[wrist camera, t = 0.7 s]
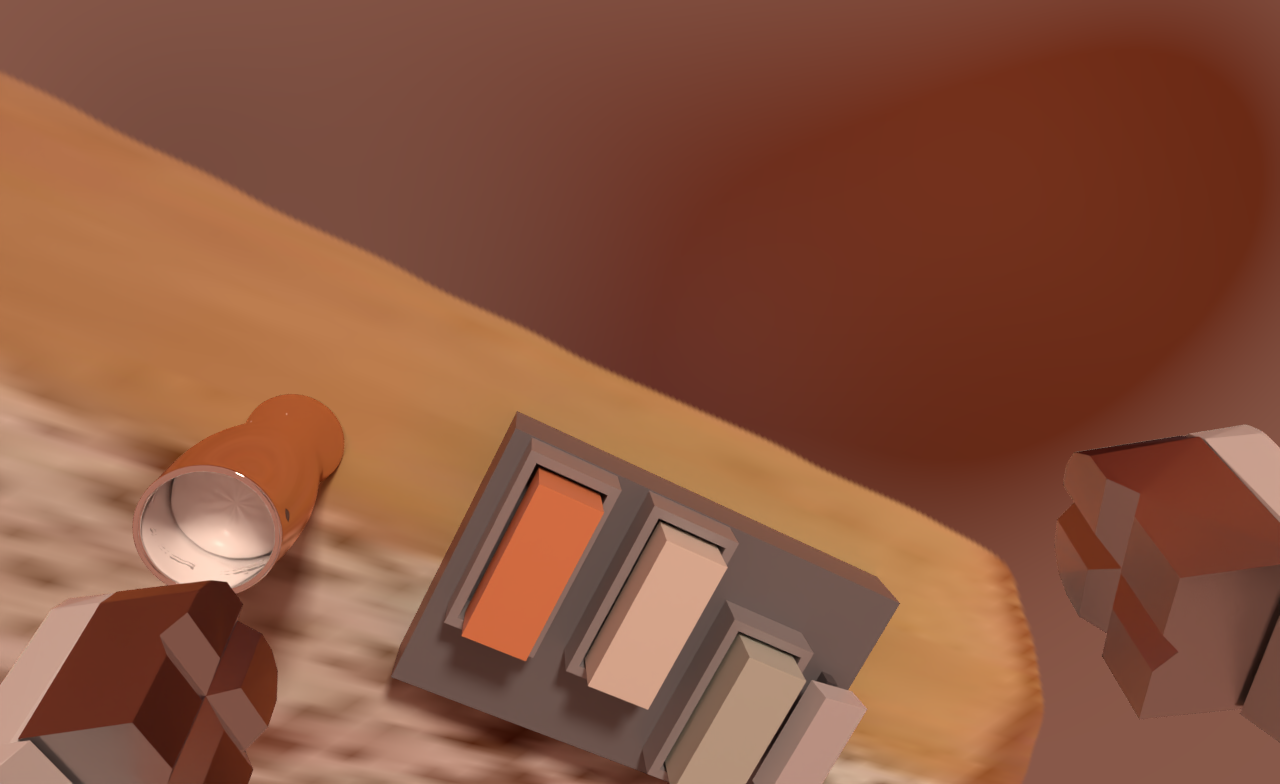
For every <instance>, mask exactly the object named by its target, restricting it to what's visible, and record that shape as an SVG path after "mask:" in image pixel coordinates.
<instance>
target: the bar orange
mask: <svg viewBox="0 0 1280 784" xmlns="http://www.w3.org/2000/svg"><path fill="white" fill-rule="evenodd" d="M603 514H604V510H603V505H602V500H601V495H600V494H599V493H596V492H594V491H592V490H590V489H587V488H585V487H583V486H581V485H579V484H576V483H574V482H572V481H570V480H567V479H565V478H563V477H561V476H559V475H556V474H554V473H552V472H550V471H547V470H545V469H543V468H541V467H539V468H538V470H537V472H536V473H535V475H534V477H533V479H532V481H531V483H530V485H529V487H528V489H527V491H526V493H525V495H524V497H523V499H522V501H521V503H520V505H519V507H518V509H517V511H516V513H515V515H514V517H513V519H512V521H511V523H510V525H509V526H508V528H507V530H506V532H505V534H504V536H503V538H502V540H501V542H500V544H499V546H498V548H497V550H496V552H495V554H494V556H493V558H492V560H491V562H490V564H489V566H488V568H487V570H486V572H485V574H484V576H483V578H482V579H481V581H480V583H479V585H478V587H477V589H476V591H475V593H474V595H473V597H472V599H471V601H470V603H469V605H468V607H467V609H466V611H465V617H464V623H463V629H462V635H461V636H463V637H465V638H468V639H470V640H473V641H476V642H478V643H481V644H483V645H486V646H488V647H491V648H493V649H496V650H498V651H501V652H503V653H506V654H508V655H511V656H513V657H516V658H518V659H521V660H524V661H526V660H527V658H528V656H529V654H530V652H531V650H532V648H533V647H534V645H535V643H536V641H537V639H538V637H539V635H540V633H541V631H542V630H543V628H544V626H545V624H546V622H547V620H548V618H549V616H550V614H551V612H552V611H553V609H554V607H555V605H556V603H557V601H558V599H559V597H560V595H561V594H562V592H563V590H564V588H565V586H566V584H567V582H568V580H569V578H570V576H571V575H572V573H573V571H574V569H575V567H576V565H577V563H578V561H579V559H580V558H581V556H582V554H583V552H584V550H585V548H586V546H587V544H588V542H589V540H590V539H591V537H592V535H593V533H594V531H595V529H596V527H597V525H598V523H599V522H600V520H601V518H602V516H603Z"/></svg>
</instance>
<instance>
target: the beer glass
mask: <svg viewBox="0 0 1280 784" xmlns="http://www.w3.org/2000/svg"><path fill="white" fill-rule="evenodd" d="M343 452H344V434H343V430H342V427H341V425H340V423H339V421H338V419H337V418H336V416H335V415H334V414H333V412H332V411H331V410H330V409H329V408H328V407H326V406H325V405H324V404H322V403H321V402H319V401H317V400H315V399H313V398H311V397H308V396H304V395H298V394H286V395H280V396H276V397H273V398H270V399H268V400H266V401H264V402H263V403H261V404H260V405H259V406H258V407H257V408H256V409H255V410H254V411H253V412H252V413H251V415H250V416H249V418H248V419H247V421H246V423H245V424H241V425H238V426H234V427H231V428H228V429H225V430H222V431H220V432H218V433H215V434H213V435H211V436H209V437H207V438H205V439H203V440H202V441H200V442H199V443H197V444H196V445H194V446H193V447H191V448H190V449H188V450H187V451H186V452H185V453H183V454H182V455H181V456H180V457H179V458H178V459H177V460H175V461H174V462H173V463H172V464H171V465H170V466H169V467H168V468H167V469H166V470H165V471H164V472H163V473H162V475H161V476H160V477H159V478H158V479H157V480H156V481H154V482H153V483H152V484H151V485H150V486H149V487H148V488H147V489H146V490H145V492H144V493H143V495H142V496H141V498H140V500H139V502H138V504H137V506H136V509H135V512H134V517H133V527H132V528H133V538H134V542H135V546H136V549H137V551H138V554H139V556H140V557H141V559H142V561H143V562H144V564H145V565H146V567H147V568H148V569H149V570H150V571H151V572H152V573H153V574H154V575H155V576H156V577H157V578H158V579H159V580H161V581H162V582H163V583H165V584H166V585H175V584H183V583H192V582H200V581H208V580H215V581H223V582H227V583H228V584H229V585H230V587H231V588H232V590H233V591H234V592H235V594H237V593H240V592H242V591H245V590H247V589H249V588H251V587H252V586H254V585H255V584H257V583H258V582H259V581H261V580H262V579H263V578H264V577H265V576H266V575H267V574H268V573H269V571H270V570H271V569H272V567H273V566H274V565H275V564H276V563H277V562H278V561H279V560H280V559H281V558H282V557H283V556H284V555H285V554H286V552H287V551H288V550H289V549H290V548H291V546H292V545H293V544H294V542H295V541H296V540H297V539H298V537H299V536H300V534H301V532H302V531H303V529H304V527H305V526H306V524H307V522H308V520H309V518H310V516H311V513H312V510H313V507H314V504H315V501H316V497H317V492H318V487H319V483H320V482H322V481H324V480H325V479H326V478H328V477H329V476H330V475H331V474H332V473H333V472H334V471H335V469H336V468H337V467H338V465H339V463H340V461H341V459H342V456H343Z"/></svg>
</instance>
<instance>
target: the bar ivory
mask: <svg viewBox="0 0 1280 784" xmlns="http://www.w3.org/2000/svg"><path fill="white" fill-rule="evenodd" d="M727 568H728V567H727V565H726V563H725V561H724V559H723V557H722V555H721V553H720V551H719V549H718V548H717V546H715V545H712V544H710V543H708V542H706V541H703V540H701V539H699V538H697V537H694V536H692V535H690V534H688V533H686V532H683V531H681V530H679V529H677V528H674V527H672V526H670V525H668V524H665V523H663V522H661V521H659V523H658V525H657V527H656V528H655V530H654V532H653V534H652V536H651V538H650V539H649V541H648V543H647V545H646V547H645V549H644V551H643V552H642V554H641V556H640V558H639V560H638V562H637V564H636V565H635V567H634V569H633V571H632V573H631V575H630V576H629V578H628V580H627V582H626V584H625V586H624V588H623V589H622V591H621V593H620V595H619V597H618V599H617V601H616V602H615V604H614V606H613V608H612V610H611V612H610V614H609V615H608V617H607V619H606V621H605V623H604V625H603V626H602V628H601V630H600V632H599V634H598V636H597V638H596V639H595V641H594V643H593V645H592V647H591V649H590V651H589V652H588V654H587V656H586V658H585V664H586V673H587V683H588V686H589V687H592V688H594V689H597V690H599V691H602V692H604V693H607V694H609V695H612V696H615V697H617V698H620V699H622V700H625V701H627V702H630V703H632V704H635V705H637V706H640V707H642V708H645V709H647V710H648V709H649V707H650V705H651V704H652V702H653V700H654V698H655V696H656V695H657V693H658V691H659V689H660V687H661V686H662V684H663V682H664V680H665V679H666V677H667V675H668V673H669V671H670V670H671V668H672V666H673V664H674V662H675V661H676V659H677V657H678V655H679V654H680V652H681V650H682V648H683V646H684V645H685V643H686V641H687V639H688V637H689V636H690V634H691V632H692V630H693V629H694V627H695V625H696V623H697V621H698V620H699V618H700V616H701V614H702V612H703V611H704V609H705V607H706V605H707V603H708V602H709V600H710V598H711V596H712V595H713V593H714V591H715V589H716V587H717V586H718V584H719V582H720V580H721V578H722V577H723V575H724V573H725V571H726V570H727Z"/></svg>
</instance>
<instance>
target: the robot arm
mask: <svg viewBox="0 0 1280 784" xmlns="http://www.w3.org/2000/svg"><path fill="white" fill-rule="evenodd" d="M1063 486H1064V487H1065V489H1066V490H1067V492H1068V493H1069V495H1070V496H1071V498H1072V500H1073V501H1074V503H1073V504H1072V505H1071V506H1070V507H1069V508H1068V509H1067V510H1066V511H1065V512H1064V513H1063V514H1062V515H1061V516H1060V517H1059V518H1058V519H1057V527H1056V535H1055V544H1054V546H1055V553H1056V559H1057V565H1058V572H1059V575H1060V578H1061V580H1062V583H1063V586H1064V588H1065V591H1066V594H1067V596H1068V598H1069V599H1070V601H1071V603H1072V605H1073V607H1074V608H1075V610H1076V612H1077V614H1078V615H1079V617H1081V618H1083V619H1084V620H1086V621H1087V622H1089V623H1091V624H1092V625H1094V626H1096V627H1097V628H1099V629H1101V630H1102V631H1104V632H1105V633H1107V635H1106V640H1105V644H1104V649H1103V654H1102V657H1103V659H1104V660H1105V662H1106V664H1107V666H1108V667H1109V669H1110V671H1111V672H1112V674H1113V676H1114V677H1115V679H1116V681H1117V682H1118V684H1119V686H1120V688H1121V689H1122V691H1123V693H1124V694H1125V696H1126V698H1127V699H1128V701H1129V703H1130V705H1131V706H1132V708H1133V710H1134V711H1135V713H1136V715H1137V717H1138V718H1139V719H1147V718H1157V717H1167V716H1176V715H1186V714H1196V713H1206V712H1215V711H1225V710H1235V709H1242V710H1241V713H1240V714H1241V715H1242V716H1243V717H1245V718H1246V719H1248V720H1249V721H1250V722H1252V723H1253V724H1255V725H1256V726H1257V727H1259V728H1260V729H1261V730H1263V731H1264V732H1266V733H1267V734H1268V735H1270V736H1272V737H1273V738H1274V739H1275V740H1277V741H1278V742H1280V448H1279V447H1278V446H1277V445H1276V444H1275V443H1274V442H1273V441H1272V440H1271V439H1270V438H1269V437H1268V436H1267V435H1266V434H1265V433H1264V432H1262V431H1261V430H1258V429H1256V428H1254V427H1251V426H1248V425H1240V426H1234V427H1228V428H1222V429H1216V430H1209V431H1204V432H1197V433H1191V434H1188V435H1186V436H1175V437H1168V438H1162V439H1156V440H1149V441H1143V442H1136V443H1130V444H1123V445H1117V446H1111V447H1105V448H1098V449H1091V450H1086V451H1079V452H1074V454H1073V455H1072V457H1071V458H1070V460H1069V461H1068V463H1067V465H1066V471H1065V476H1064V482H1063ZM242 606H243V604H242V602H241V601H240V599H239V598H238V597H237V595H236V594H235V592H234V591H233V590H232V588H231V587H230V585H229V584H228V583H227V582H223V581H215V580H208V581H200V582H192V583H183V584H175V585H167V586H159V587H151V588H143V589H135V590H126V591H118V592H116V593H112V594H103V595H95V596H86V597H77V598H69V599H67V600H66V601H64V602H62V603H61V604H59V605H57V606H56V607H54V608H53V609H51V610H50V612H49V613H48V615H47V616H46V618H45V619H44V621H43V622H42V624H41V625H40V627H39V628H38V630H37V631H36V633H35V634H34V636H33V637H32V639H31V640H30V642H29V643H28V644H27V646H26V647H25V649H24V650H23V652H22V653H21V655H20V656H19V658H18V659H17V661H16V662H15V664H14V665H13V667H12V668H11V670H10V671H9V673H8V674H7V676H6V677H5V679H4V680H3V682H2V683H1V685H0V784H248V783H249V780H250V777H251V774H252V772H253V768H252V765H251V763H250V760H249V758H248V756H247V753H246V751H245V750H246V749H247V748H248V747H249V746H250V745H251V744H252V743H253V742H254V741H255V740H256V739H257V738H258V737H259V736H260V735H261V734H262V733H263V732H264V731H265V730H266V729H267V728H268V726H269V722H270V719H271V716H272V713H273V710H274V707H275V704H276V701H277V675H278V670H277V667H276V663H275V660H274V656H273V653H272V649H271V648H270V646H269V645H268V643H267V641H266V640H265V638H264V636H263V635H262V634H261V633H260V632H258V631H256V630H254V629H252V628H250V627H248V626H246V625H244V624H242V623H241V622H239V621H238V618H239V615H240V612H241V609H242Z"/></svg>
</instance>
